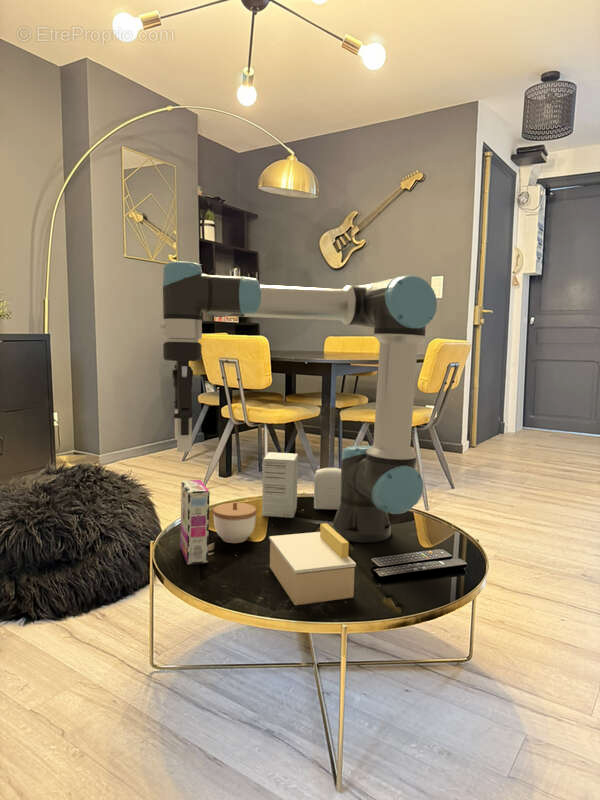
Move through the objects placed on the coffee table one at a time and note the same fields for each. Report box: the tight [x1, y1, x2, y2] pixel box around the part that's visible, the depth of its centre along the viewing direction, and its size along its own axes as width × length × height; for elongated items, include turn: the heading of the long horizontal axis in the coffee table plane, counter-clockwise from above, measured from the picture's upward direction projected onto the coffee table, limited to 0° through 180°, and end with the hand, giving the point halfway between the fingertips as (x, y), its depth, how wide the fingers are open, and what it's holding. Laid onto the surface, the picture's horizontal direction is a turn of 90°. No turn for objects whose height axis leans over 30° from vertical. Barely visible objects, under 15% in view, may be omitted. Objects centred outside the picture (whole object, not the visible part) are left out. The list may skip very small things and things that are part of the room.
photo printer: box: [313, 467, 341, 510], centre depth 160 cm, size 10×4×12 cm, turn 88°
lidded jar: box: [212, 501, 257, 544], centre depth 133 cm, size 11×11×9 cm
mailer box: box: [269, 540, 355, 606], centre depth 110 cm, size 12×18×6 cm, turn 18°
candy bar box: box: [180, 479, 210, 566], centre depth 122 cm, size 11×5×16 cm, turn 21°
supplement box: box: [261, 451, 299, 519], centre depth 155 cm, size 10×9×17 cm
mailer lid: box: [268, 522, 357, 573], centre depth 110 cm, size 12×18×4 cm
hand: (182, 445), depth 110 cm, fingers open, 13 cm apart
